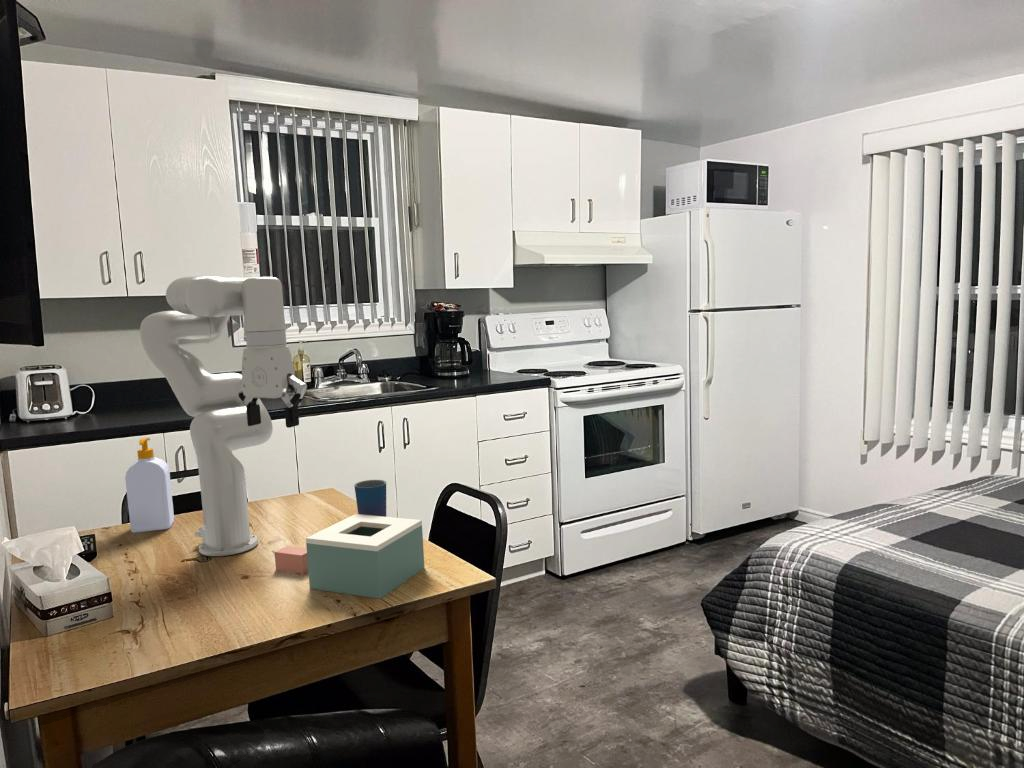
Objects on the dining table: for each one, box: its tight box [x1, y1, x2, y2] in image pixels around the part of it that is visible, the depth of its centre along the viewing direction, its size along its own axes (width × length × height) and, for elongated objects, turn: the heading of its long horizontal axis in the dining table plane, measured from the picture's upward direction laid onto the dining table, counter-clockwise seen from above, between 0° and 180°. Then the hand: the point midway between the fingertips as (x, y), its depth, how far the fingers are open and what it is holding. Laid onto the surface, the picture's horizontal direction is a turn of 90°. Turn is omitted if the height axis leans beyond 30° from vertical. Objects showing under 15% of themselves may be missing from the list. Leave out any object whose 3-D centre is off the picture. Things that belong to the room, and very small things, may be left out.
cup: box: [354, 479, 387, 517], centre depth 160 cm, size 7×7×15 cm
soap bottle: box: [124, 437, 175, 534], centre depth 184 cm, size 9×7×23 cm
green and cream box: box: [305, 513, 426, 600], centre depth 144 cm, size 16×16×10 cm
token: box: [274, 545, 309, 574], centre depth 152 cm, size 7×4×4 cm, turn 66°
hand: (273, 425), depth 147 cm, fingers open, 9 cm apart
